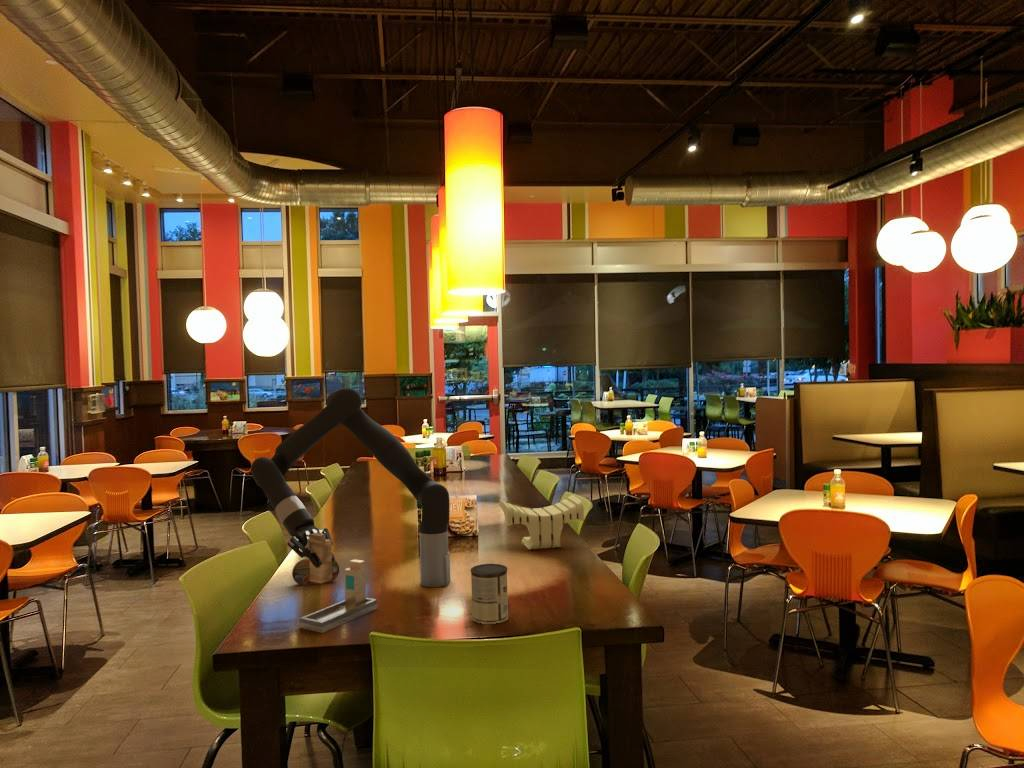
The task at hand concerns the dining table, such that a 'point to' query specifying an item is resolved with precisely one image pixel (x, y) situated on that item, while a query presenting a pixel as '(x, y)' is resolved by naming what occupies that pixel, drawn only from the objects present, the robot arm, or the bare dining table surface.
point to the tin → (303, 572)
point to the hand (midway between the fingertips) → (326, 563)
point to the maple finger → (321, 558)
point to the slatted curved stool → (544, 521)
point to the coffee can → (489, 593)
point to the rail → (343, 602)
